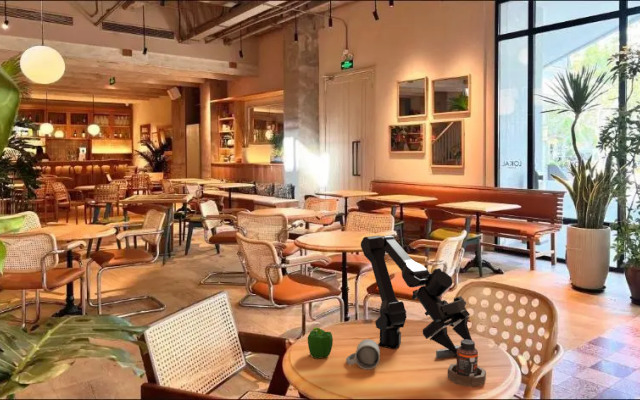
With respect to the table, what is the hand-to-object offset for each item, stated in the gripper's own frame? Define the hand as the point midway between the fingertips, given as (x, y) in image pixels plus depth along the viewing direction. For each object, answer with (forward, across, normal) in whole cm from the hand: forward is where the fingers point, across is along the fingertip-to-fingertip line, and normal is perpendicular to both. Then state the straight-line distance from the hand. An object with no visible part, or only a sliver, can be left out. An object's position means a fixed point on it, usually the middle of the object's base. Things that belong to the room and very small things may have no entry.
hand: (463, 347), depth 153 cm
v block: (0, +12, +13) cm, 18 cm away
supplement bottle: (+7, 0, +6) cm, 9 cm away
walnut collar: (+7, 0, +6) cm, 9 cm away
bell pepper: (-23, -19, +36) cm, 47 cm away
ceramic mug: (-12, -14, +26) cm, 32 cm away
